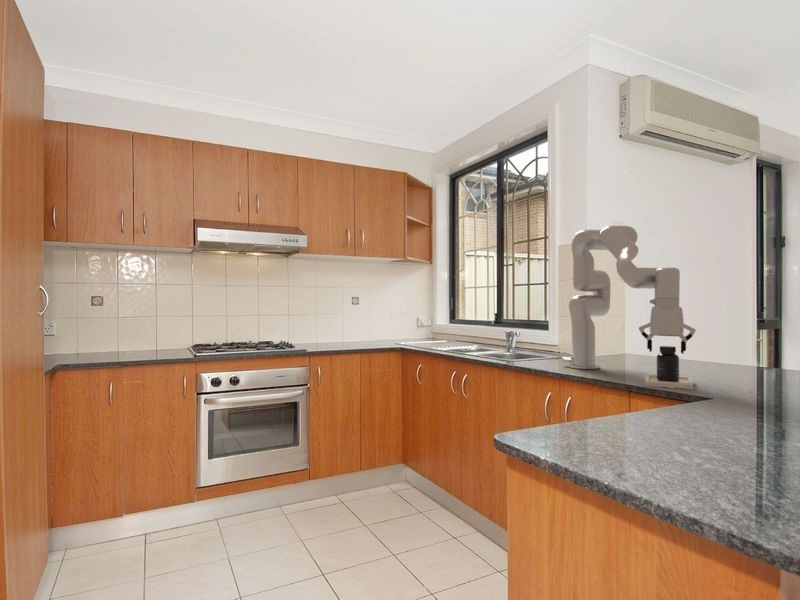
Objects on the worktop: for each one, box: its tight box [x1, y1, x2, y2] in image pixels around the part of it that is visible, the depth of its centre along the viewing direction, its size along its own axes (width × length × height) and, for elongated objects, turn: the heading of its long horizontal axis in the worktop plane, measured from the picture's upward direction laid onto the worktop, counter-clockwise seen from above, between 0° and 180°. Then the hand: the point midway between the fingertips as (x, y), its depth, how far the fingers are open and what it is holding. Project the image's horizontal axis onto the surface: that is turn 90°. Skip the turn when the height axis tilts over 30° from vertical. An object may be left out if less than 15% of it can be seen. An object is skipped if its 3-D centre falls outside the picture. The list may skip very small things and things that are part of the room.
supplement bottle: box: [656, 345, 680, 382], centre depth 164 cm, size 7×7×12 cm
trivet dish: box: [644, 374, 694, 390], centre depth 164 cm, size 14×14×2 cm
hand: (666, 352), depth 165 cm, fingers open, 9 cm apart
